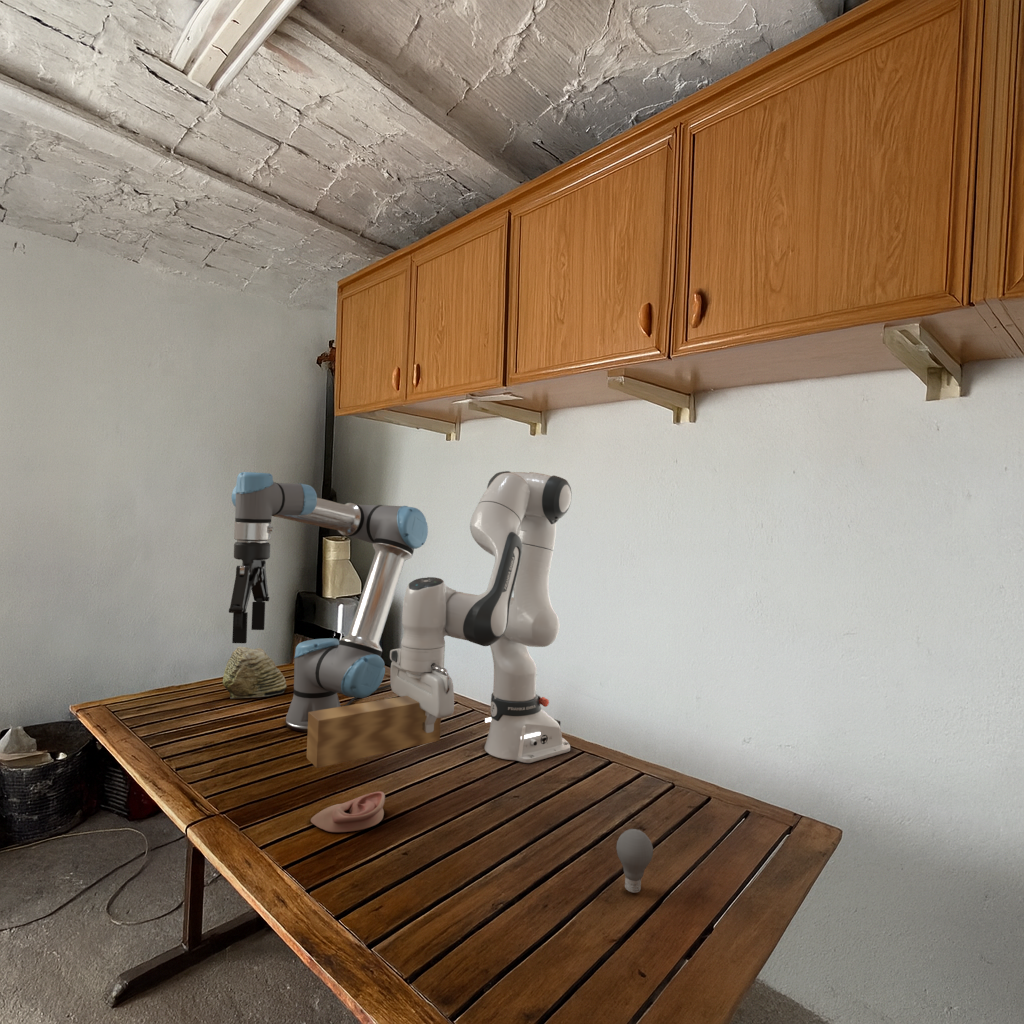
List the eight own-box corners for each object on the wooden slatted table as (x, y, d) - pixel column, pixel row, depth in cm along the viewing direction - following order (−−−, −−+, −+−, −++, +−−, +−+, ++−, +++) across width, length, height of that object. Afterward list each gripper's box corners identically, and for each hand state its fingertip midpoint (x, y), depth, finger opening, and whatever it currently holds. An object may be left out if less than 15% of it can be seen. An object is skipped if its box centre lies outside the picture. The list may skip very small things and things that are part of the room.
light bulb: (610, 879, 108) (613, 822, 108) (644, 879, 109) (647, 822, 109) (619, 902, 102) (622, 840, 102) (655, 901, 103) (658, 840, 103)
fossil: (218, 695, 195) (220, 647, 195) (278, 685, 208) (279, 640, 207) (228, 703, 189) (230, 653, 188) (289, 692, 201) (290, 645, 201)
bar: (316, 768, 113) (318, 720, 113) (306, 757, 117) (308, 711, 117) (440, 740, 128) (441, 698, 128) (427, 732, 133) (428, 691, 133)
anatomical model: (303, 807, 121) (332, 781, 132) (302, 827, 121) (331, 800, 132) (368, 817, 118) (392, 790, 129) (367, 838, 118) (391, 809, 129)
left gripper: (253, 546, 129) (249, 649, 130) (283, 538, 154) (280, 625, 155) (215, 545, 129) (211, 648, 129) (251, 537, 153) (248, 624, 154)
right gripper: (463, 668, 122) (460, 740, 122) (412, 646, 138) (409, 709, 138) (435, 673, 118) (432, 746, 118) (386, 649, 134) (383, 714, 135)
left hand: (249, 636), depth 142 cm, fingers open, 13 cm apart
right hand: (419, 726), depth 129 cm, fingers closed on bar, 5 cm apart
